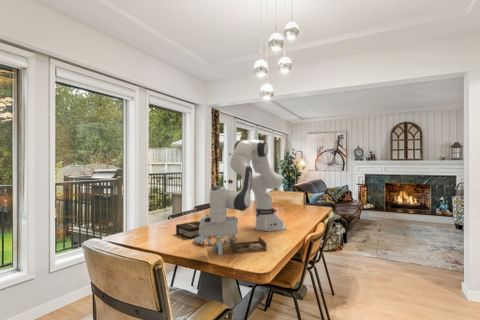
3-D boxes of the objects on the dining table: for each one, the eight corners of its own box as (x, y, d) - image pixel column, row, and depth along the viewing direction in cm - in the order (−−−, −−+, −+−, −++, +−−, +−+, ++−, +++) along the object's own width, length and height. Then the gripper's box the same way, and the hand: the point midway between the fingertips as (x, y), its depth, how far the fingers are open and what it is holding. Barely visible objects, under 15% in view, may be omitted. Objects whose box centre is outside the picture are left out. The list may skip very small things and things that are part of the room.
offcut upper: (258, 245, 146) (258, 243, 146) (260, 247, 143) (260, 245, 143) (250, 246, 145) (250, 244, 145) (252, 248, 141) (252, 246, 141)
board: (222, 256, 135) (222, 241, 136) (218, 256, 135) (218, 242, 135) (219, 249, 146) (219, 236, 146) (215, 249, 146) (215, 236, 146)
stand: (224, 250, 146) (224, 243, 146) (226, 255, 138) (226, 248, 138) (211, 251, 145) (211, 244, 145) (212, 256, 137) (212, 249, 137)
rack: (259, 246, 153) (259, 236, 153) (266, 253, 141) (266, 242, 141) (229, 248, 149) (229, 239, 149) (234, 255, 137) (234, 245, 137)
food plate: (216, 233, 180) (216, 228, 180) (243, 240, 165) (243, 234, 165) (186, 243, 161) (186, 237, 161) (214, 252, 146) (214, 245, 146)
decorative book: (171, 223, 180) (209, 217, 200) (172, 235, 180) (209, 227, 200) (186, 228, 166) (225, 221, 185) (186, 241, 166) (226, 232, 185)
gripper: (236, 215, 147) (237, 240, 147) (198, 217, 143) (198, 243, 142) (239, 217, 141) (239, 244, 141) (199, 219, 136) (199, 247, 136)
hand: (218, 244), depth 142 cm, fingers open, 8 cm apart
